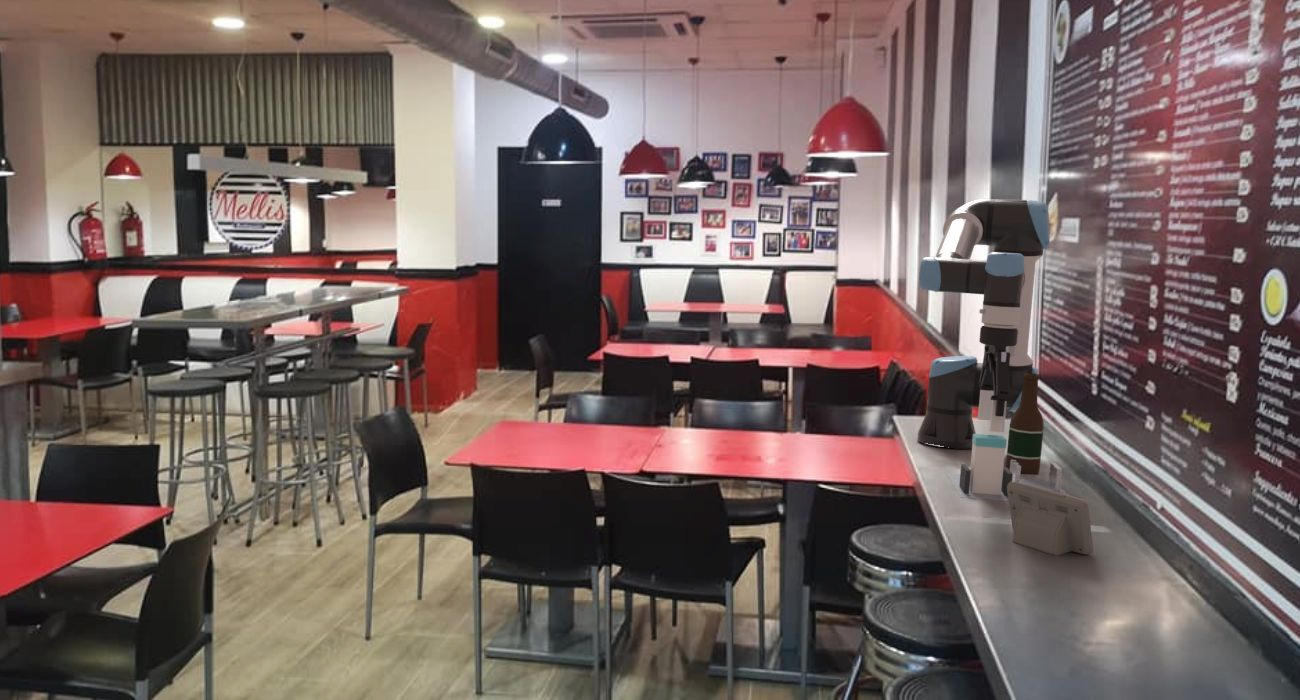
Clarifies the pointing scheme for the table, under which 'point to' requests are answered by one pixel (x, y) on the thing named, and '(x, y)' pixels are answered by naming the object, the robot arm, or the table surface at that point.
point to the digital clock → (1049, 520)
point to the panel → (1037, 483)
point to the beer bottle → (1026, 429)
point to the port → (1053, 475)
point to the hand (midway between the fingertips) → (990, 425)
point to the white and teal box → (987, 464)
